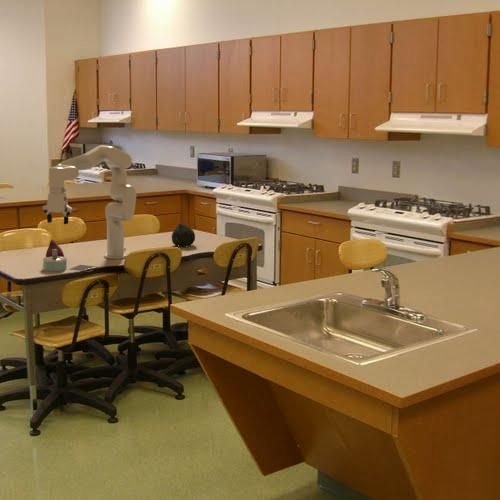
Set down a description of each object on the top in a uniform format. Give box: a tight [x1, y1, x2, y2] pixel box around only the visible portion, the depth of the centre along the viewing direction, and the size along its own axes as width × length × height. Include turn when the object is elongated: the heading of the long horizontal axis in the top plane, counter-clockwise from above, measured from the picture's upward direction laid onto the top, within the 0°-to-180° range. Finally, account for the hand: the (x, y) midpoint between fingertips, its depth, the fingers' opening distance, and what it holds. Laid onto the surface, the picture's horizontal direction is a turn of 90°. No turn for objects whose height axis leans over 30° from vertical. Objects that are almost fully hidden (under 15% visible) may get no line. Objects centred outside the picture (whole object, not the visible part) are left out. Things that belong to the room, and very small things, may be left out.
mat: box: [68, 264, 97, 273], centre depth 389 cm, size 12×12×1 cm
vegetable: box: [45, 239, 65, 258], centre depth 399 cm, size 10×10×15 cm
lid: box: [42, 249, 68, 263], centre depth 384 cm, size 12×12×6 cm
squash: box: [171, 223, 196, 247], centre depth 459 cm, size 14×15×15 cm
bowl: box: [42, 261, 67, 273], centre depth 385 cm, size 11×11×5 cm
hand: (57, 223), depth 382 cm, fingers open, 9 cm apart
